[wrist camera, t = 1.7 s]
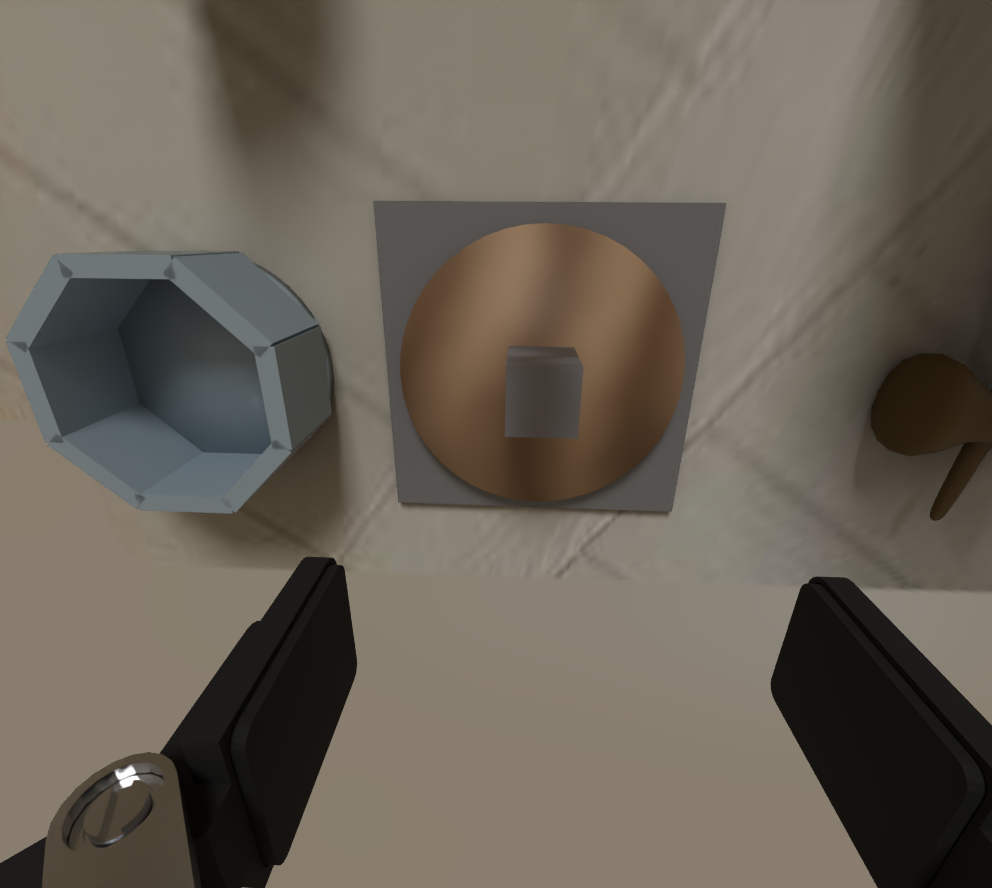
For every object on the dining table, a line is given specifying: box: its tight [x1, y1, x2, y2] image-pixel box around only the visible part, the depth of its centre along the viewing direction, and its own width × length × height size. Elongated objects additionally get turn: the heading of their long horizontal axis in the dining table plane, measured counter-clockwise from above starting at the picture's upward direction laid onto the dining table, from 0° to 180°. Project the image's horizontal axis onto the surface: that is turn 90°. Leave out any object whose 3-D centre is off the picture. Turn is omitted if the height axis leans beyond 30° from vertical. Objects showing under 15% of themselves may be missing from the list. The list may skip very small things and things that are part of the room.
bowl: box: [6, 251, 333, 514], centre depth 26 cm, size 13×13×6 cm
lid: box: [400, 223, 685, 502], centre depth 26 cm, size 16×16×6 cm
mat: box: [373, 201, 726, 512], centre depth 28 cm, size 18×18×1 cm
